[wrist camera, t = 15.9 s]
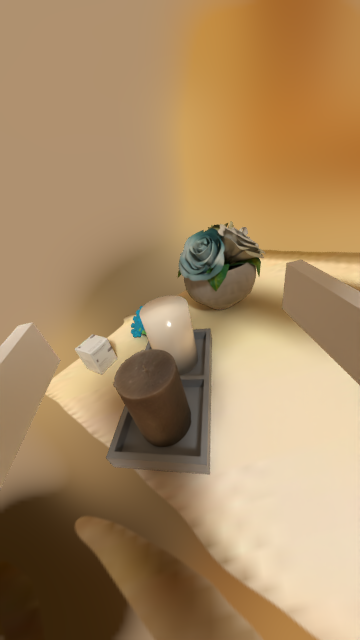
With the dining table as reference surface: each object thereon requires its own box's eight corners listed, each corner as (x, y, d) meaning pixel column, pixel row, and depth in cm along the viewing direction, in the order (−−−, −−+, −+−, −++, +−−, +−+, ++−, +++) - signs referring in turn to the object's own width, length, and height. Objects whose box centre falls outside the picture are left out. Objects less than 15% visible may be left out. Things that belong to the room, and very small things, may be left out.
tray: (211, 338, 57) (210, 328, 55) (209, 474, 32) (207, 464, 30) (154, 341, 60) (151, 332, 58) (113, 466, 36) (105, 457, 34)
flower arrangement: (278, 312, 61) (287, 220, 47) (194, 335, 60) (176, 248, 46) (241, 278, 81) (239, 208, 67) (177, 295, 80) (162, 227, 66)
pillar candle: (202, 425, 38) (187, 367, 29) (152, 460, 35) (120, 406, 26) (175, 389, 45) (158, 334, 37) (133, 415, 42) (103, 361, 34)
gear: (127, 321, 69) (143, 297, 65) (143, 326, 72) (159, 304, 68) (131, 346, 61) (149, 320, 57) (149, 350, 64) (167, 327, 60)
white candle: (199, 344, 55) (189, 293, 46) (196, 375, 47) (184, 320, 38) (162, 346, 57) (146, 297, 48) (153, 376, 49) (133, 324, 40)
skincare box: (102, 375, 54) (89, 354, 50) (86, 369, 57) (73, 348, 53) (118, 358, 58) (108, 337, 54) (102, 353, 61) (92, 333, 57)
